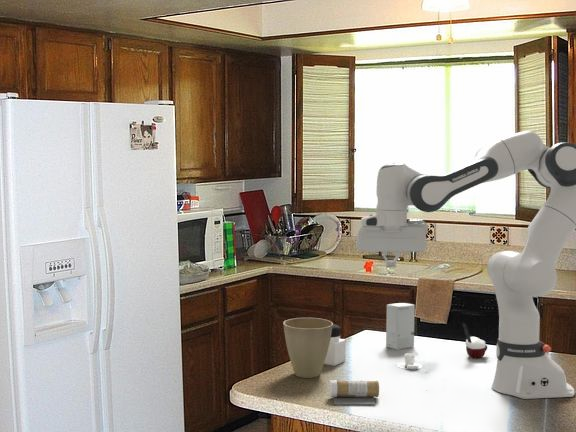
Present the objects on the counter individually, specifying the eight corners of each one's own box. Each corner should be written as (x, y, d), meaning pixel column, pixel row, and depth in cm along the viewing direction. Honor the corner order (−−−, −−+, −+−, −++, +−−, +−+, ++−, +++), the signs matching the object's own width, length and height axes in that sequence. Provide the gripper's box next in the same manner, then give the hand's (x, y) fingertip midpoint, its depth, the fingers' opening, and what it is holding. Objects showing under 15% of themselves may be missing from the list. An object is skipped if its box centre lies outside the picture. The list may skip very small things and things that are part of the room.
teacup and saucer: (419, 372, 259) (419, 359, 258) (393, 370, 261) (393, 357, 261) (424, 365, 267) (425, 352, 266) (400, 362, 270) (400, 350, 269)
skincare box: (397, 350, 284) (397, 306, 283) (384, 346, 289) (385, 304, 287) (415, 346, 289) (415, 304, 287) (402, 343, 294) (403, 301, 292)
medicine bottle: (345, 361, 270) (346, 324, 269) (334, 366, 264) (335, 328, 263) (326, 358, 274) (326, 321, 273) (315, 362, 268) (315, 325, 267)
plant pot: (276, 379, 250) (276, 326, 248) (291, 366, 264) (291, 316, 262) (325, 383, 245) (325, 329, 243) (337, 370, 259) (338, 319, 258)
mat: (371, 387, 242) (371, 385, 242) (375, 405, 225) (375, 403, 225) (333, 386, 242) (333, 384, 242) (333, 405, 225) (333, 403, 225)
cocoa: (485, 354, 278) (486, 319, 277) (491, 359, 272) (492, 323, 271) (457, 355, 278) (458, 319, 277) (462, 360, 271) (463, 323, 270)
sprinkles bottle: (377, 394, 233) (328, 394, 233) (377, 378, 233) (329, 378, 233) (379, 399, 229) (330, 399, 228) (379, 382, 229) (330, 382, 228)
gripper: (426, 218, 245) (425, 265, 246) (356, 218, 245) (355, 265, 247) (429, 220, 238) (428, 269, 240) (356, 220, 239) (356, 268, 240)
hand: (390, 267), depth 243 cm, fingers closed
